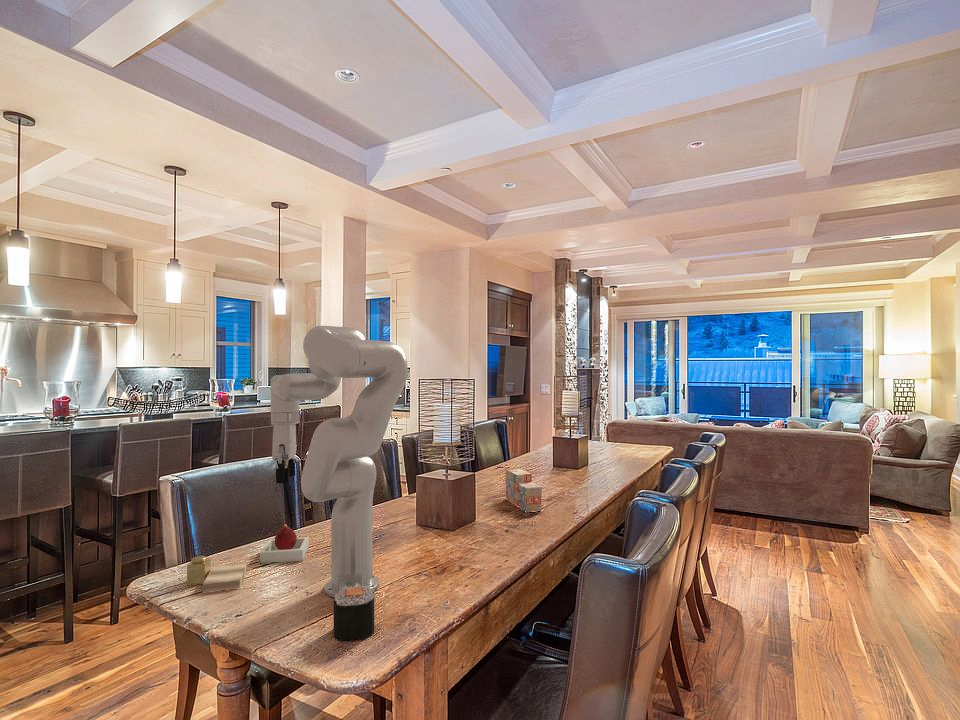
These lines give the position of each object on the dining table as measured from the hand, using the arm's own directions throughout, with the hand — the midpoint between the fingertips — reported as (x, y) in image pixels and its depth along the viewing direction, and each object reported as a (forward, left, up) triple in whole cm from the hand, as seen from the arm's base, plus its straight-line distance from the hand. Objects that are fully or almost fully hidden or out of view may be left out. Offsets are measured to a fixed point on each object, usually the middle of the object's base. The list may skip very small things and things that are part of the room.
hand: (286, 479), depth 146 cm
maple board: (-15, +11, -22) cm, 29 cm away
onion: (0, 0, -21) cm, 21 cm away
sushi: (-47, -22, -22) cm, 56 cm away
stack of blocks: (+38, -78, -22) cm, 90 cm away
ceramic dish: (0, 0, -21) cm, 21 cm away
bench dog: (-15, +18, -21) cm, 31 cm away
